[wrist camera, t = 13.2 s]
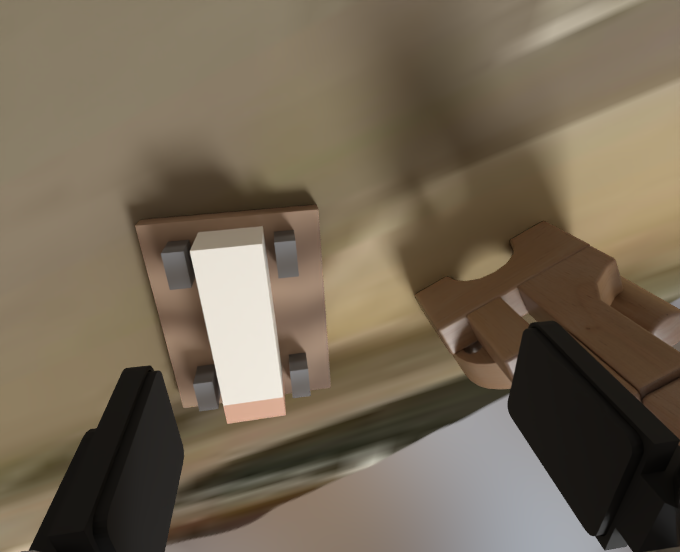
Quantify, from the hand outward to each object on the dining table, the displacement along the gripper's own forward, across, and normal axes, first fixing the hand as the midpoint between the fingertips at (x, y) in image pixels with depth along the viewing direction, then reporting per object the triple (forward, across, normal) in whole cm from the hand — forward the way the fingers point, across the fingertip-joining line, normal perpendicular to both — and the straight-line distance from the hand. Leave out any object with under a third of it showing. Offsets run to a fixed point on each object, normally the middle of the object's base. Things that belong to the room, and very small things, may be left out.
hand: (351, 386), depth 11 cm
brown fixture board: (+25, +6, +13) cm, 29 cm away
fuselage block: (+24, +6, +13) cm, 27 cm away
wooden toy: (+26, -18, +12) cm, 34 cm away
